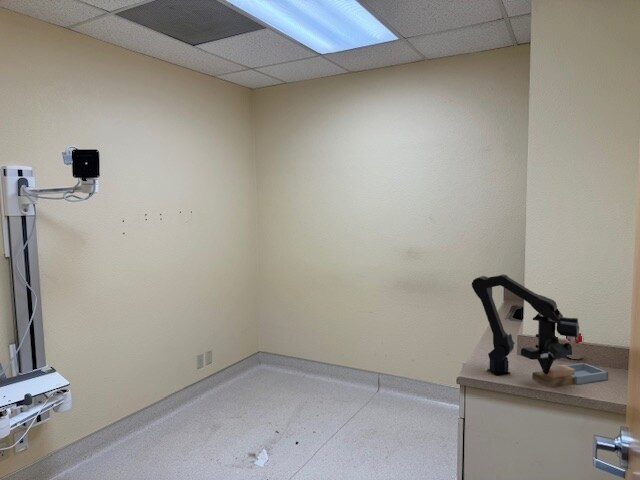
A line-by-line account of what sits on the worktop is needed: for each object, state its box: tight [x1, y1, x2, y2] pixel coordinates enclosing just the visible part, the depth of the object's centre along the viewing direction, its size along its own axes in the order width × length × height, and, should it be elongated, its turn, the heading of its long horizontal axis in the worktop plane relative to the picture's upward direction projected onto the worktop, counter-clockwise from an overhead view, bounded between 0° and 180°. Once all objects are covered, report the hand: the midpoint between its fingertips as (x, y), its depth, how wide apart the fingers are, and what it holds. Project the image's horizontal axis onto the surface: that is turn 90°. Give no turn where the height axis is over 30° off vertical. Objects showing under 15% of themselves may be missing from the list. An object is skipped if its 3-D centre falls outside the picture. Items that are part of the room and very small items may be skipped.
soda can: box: [566, 333, 582, 343], centre depth 192 cm, size 7×7×12 cm
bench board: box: [532, 370, 576, 388], centre depth 167 cm, size 11×9×2 cm
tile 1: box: [543, 365, 564, 378], centre depth 167 cm, size 5×5×2 cm
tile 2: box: [554, 364, 575, 376], centre depth 168 cm, size 5×5×2 cm
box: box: [565, 362, 609, 386], centre depth 171 cm, size 15×11×3 cm
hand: (545, 373), depth 166 cm, fingers closed
